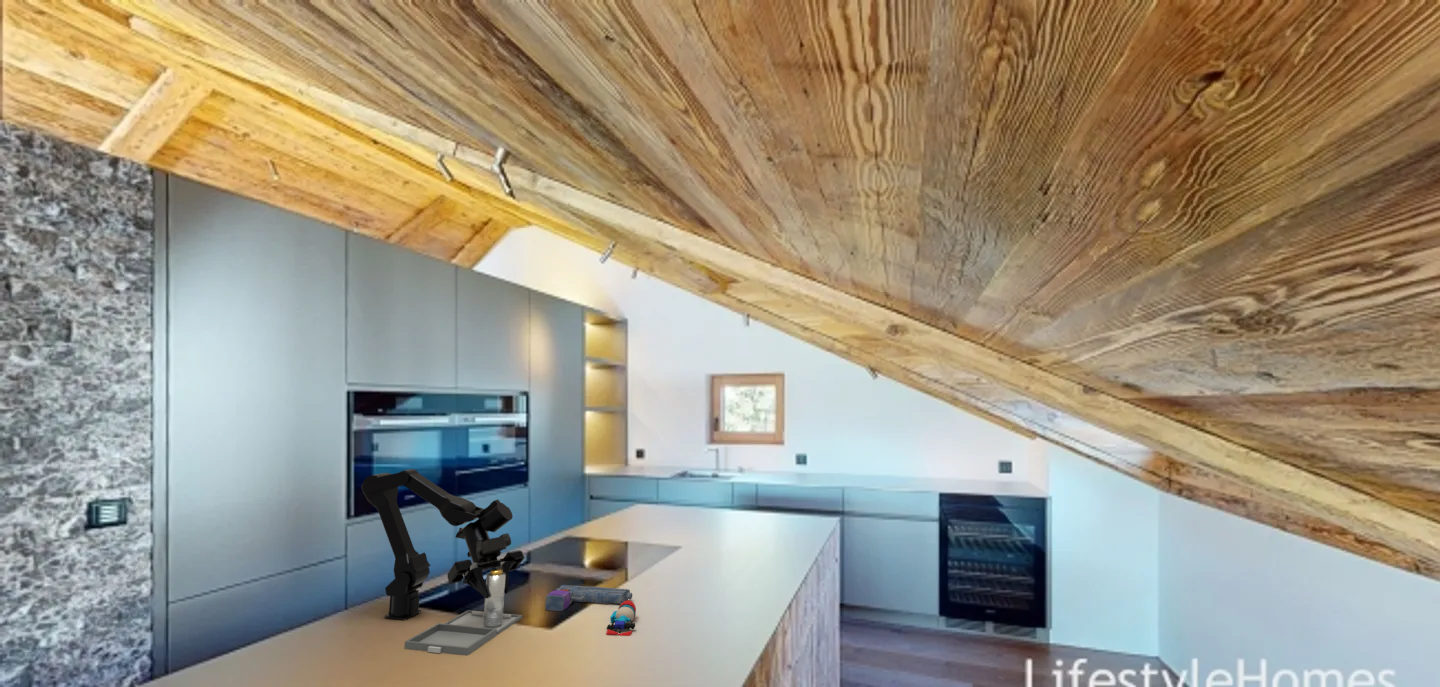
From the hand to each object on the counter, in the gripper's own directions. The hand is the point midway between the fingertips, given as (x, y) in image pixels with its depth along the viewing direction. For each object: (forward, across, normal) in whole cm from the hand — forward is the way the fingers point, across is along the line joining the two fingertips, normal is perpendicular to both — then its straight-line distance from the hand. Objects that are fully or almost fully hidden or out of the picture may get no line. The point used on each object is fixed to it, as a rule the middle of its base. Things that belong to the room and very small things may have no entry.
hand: (497, 595), depth 151 cm
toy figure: (+20, +25, -7) cm, 33 cm away
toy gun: (+6, +29, +7) cm, 31 cm away
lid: (+2, -1, +10) cm, 11 cm away
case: (+7, -12, +6) cm, 15 cm away
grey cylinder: (+4, 0, +6) cm, 7 cm away
